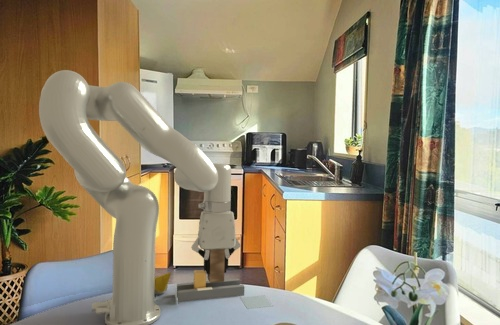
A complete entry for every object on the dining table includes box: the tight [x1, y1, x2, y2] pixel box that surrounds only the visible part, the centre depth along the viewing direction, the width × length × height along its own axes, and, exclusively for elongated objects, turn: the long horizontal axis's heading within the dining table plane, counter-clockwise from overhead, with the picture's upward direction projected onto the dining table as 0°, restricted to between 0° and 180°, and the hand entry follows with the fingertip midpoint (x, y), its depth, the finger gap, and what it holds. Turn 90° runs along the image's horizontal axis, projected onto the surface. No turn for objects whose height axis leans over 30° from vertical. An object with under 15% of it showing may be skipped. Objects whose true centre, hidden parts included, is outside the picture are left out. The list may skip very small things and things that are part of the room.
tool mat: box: [240, 294, 274, 310], centre depth 88 cm, size 7×7×1 cm
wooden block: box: [206, 249, 225, 283], centre depth 93 cm, size 4×4×10 cm
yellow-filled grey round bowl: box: [154, 272, 172, 296], centre depth 93 cm, size 5×5×10 cm
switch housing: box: [176, 277, 245, 305], centre depth 93 cm, size 18×6×3 cm, turn 107°
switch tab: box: [193, 269, 207, 289], centre depth 92 cm, size 3×3×5 cm
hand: (215, 271), depth 93 cm, fingers closed on wooden block, 4 cm apart
